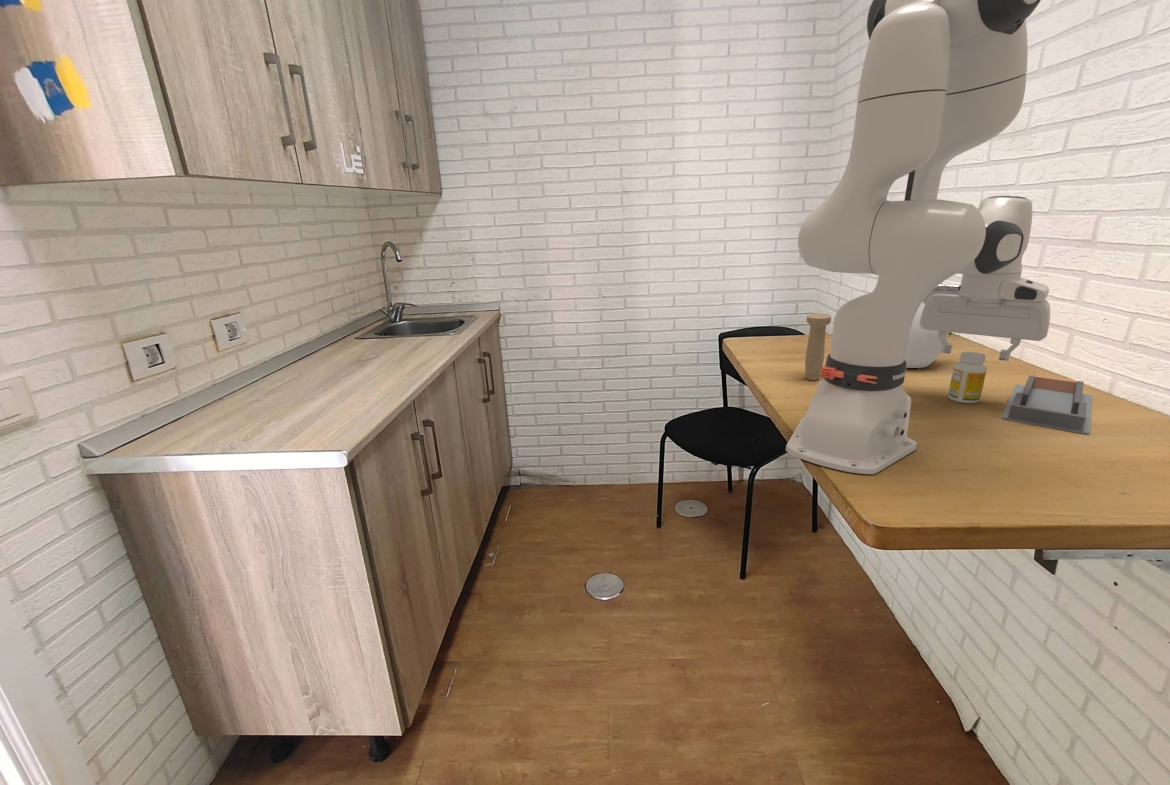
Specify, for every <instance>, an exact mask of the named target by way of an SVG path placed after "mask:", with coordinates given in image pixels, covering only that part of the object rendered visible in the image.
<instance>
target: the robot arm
mask: <svg viewBox="0 0 1170 785" xmlns="http://www.w3.org/2000/svg"><path fill="white" fill-rule="evenodd" d="M1041 1H1042V0H872V2H871V4H870V6H869V8H868V13H867V17H866V31H867V37H868V40H869V42H868V45H867V49H866V52H865V57H864V60H863V64H862V70H861V74H860V79H859V86H858V93H857V99H856V100H857V101H856V102H857V104H856V112H855V119H854V120H855V121H854V129H853V135H852V142H851V147H850V153H849V156H848V161H847V163H846V164H847V165H846V167H845V170H844V172H843V174H842V177H841V179H840V180H839V181H838V183H837V185H836V187H835V188H834V190H833V191H832V192H831V194H830V195H829V196H828V197H827V199H826V200H824V201H823V202H822V203H821V204H819V206H818V207H816V208H814V210H812V211H811V212H810V213H809V214H808V216H807V217H806V218H805V219H804V221H803V222H802V224H801V227H800V230H799V232H798V236H797V247H798V251H799V254H800V257H801V259H802V261H804V263H805V264H806V265H807V266H808V267H812V268H816V269H819V270H823V271H827V272H832V273H840V274H841V273H843V274H865V275H868V274H869V275H875V276H878V277H877V278H878V279H877V283H876V285H875V288H874V289H873V290H872V292H869V293H866V294H863V295H860V296H857V297H855V298H853V299H851V300H849V301H846V302H845V303H844V304H842V306H840V307H839V308H838V310H837V311H836V313H835V315H834V318H833V326H832V333H831V334H832V335H831V344H830V351H829V352H830V353H829V354H828V355H827V356H826V360H825V362H824V365H823V366H822V370H821V373H820V374H821V376H820V379H821V380H820V381H818V385H817V387H816V390H815V393H814V395H813V397H812V398H811V401H810V404H809V406H808V408H807V410H806V413H805V416H803V417H802V418H801V419H800V420H799V423H798V425H797V426H796V427H795V429H794V431H793V433H792V435H791V437H790V438H789V440H788V441H787V443H786V445H785V451H786V452H787V453H789V454H790V455H792V456H794V457H796V458H798V459H801V460H803V461H805V462H809V463H812V464H816V465H819V466H822V467H826V468H829V469H834V470H838V471H841V472H847V473H852V474H853V473H854V474H862V475H876V474H877V473H879V472H881V471H882V470H884V469H886V468H887V467H889V466H891V465H893V464H894V463H896V462H897V461H899V460H901V459H902V458H904V457H905V456H907V455H909V454H911V453H913V452H914V451H916V450H917V445H918V442H917V441H916V440H914V439H913V438H910V437H909V436H908V430H909V423H910V422H909V421H910V415H911V414H910V413H911V405H912V399H911V397H910V396H909V395H908V394H907V392H906V391H905V389H904V387H903V384H904V382H905V379H906V378H905V377H906V374H907V369H906V361H905V360H904V357H905V352H906V346H907V342H908V337H909V333H910V329H911V326H912V322H913V319H914V316H915V314H916V312H917V310H918V308H919V306H920V305H921V303H922V302H923V303H924V304H925V306H924V309H923V312H922V315H921V318H920V323H919V325H920V326H921V328H922V329H924V330H933V331H939V332H938V338H939V340H940V342H941V344H942V345H943V346H942V351H941V353H942V354H948V355H949V354H951V353H952V350H953V349H952V348H953V345H954V344H953V343H949V342H948V338H947V339H946V336H947V335H948V336H949V334H948V332H949V333H953V334H954V333H956V334H965V335H975V336H976V335H977V336H983V337H985V336H986V337H993V338H994V337H995V338H996V337H997V338H1006V339H1010V342H1009V344H1010V346H1009V347H1008V348H1007V349H1001V350H1000V353H999V357H998V360H999V361H1006V362H1009V360H1010V356H1011V353H1012V352H1013V351H1014V350H1015V349H1016V348H1018V347H1019V345H1020V344H1021V342H1022V340H1025V341H1032V342H1033V341H1036V342H1040V341H1042V340H1044V339H1045V338H1047V336H1048V332H1049V329H1050V328H1049V327H1050V324H1051V323H1050V322H1051V305H1050V303H1049V301H1048V300H1047V299H1046V298H1047V297H1048V295H1049V291H1050V288H1049V286H1048V285H1046V284H1044V283H1041V282H1038V281H1033V280H1031V279H1027V278H1025V277H1022V271H1023V265H1022V260H1023V256H1024V253H1025V252H1026V251H1027V248H1028V246H1029V241H1030V235H1031V232H1032V231H1031V230H1032V224H1033V222H1032V221H1033V202H1032V201H1031V200H1030V199H1028V198H1027V197H1023V196H1017V195H1014V196H1012V195H995V196H990V197H986V198H982V200H981V201H980V203H979V205H978V208H977V207H976V206H975V205H974V204H973V203H971V204H970V203H965V202H962V201H961V202H960V201H954V200H953V201H952V200H946V199H944V200H943V199H938V194H939V188H940V183H941V180H942V175H943V172H944V169H945V168H946V166H947V165H948V163H950V161H952V160H953V159H954V158H956V157H957V156H959V155H961V154H963V153H965V152H967V151H970V150H972V149H974V148H977V147H978V146H980V145H982V144H984V143H987V142H988V141H990V140H992V139H993V138H995V137H997V136H998V135H1000V134H1001V133H1002V132H1003V131H1004V130H1005V129H1007V128H1008V127H1009V126H1010V125H1011V124H1012V123H1013V121H1015V119H1016V117H1017V116H1018V115H1019V114H1020V113H1019V112H1020V110H1021V108H1022V105H1023V103H1024V100H1025V99H1024V98H1025V95H1026V94H1025V93H1026V86H1027V85H1026V84H1027V83H1026V82H1027V74H1028V72H1027V71H1028V51H1029V50H1028V29H1027V20H1026V19H1028V18H1029V17H1030V16H1031V15H1032V13H1033V12H1034V11H1035V9H1036V8H1037V7H1038V6H1039V4H1040V2H1041ZM906 175H907V177H908V178H907V182H906V189H905V194H904V200H891V201H890V200H887V199H888V195H889V192H890V189H891V187H892V186H893V184H894V183H895V182H896V181H897V180H898V179H900V178H902V177H904V176H906ZM959 274H961V281H960V284H943V283H944V281H947V280H948V279H950V278H951V277H953V276H955V275H959ZM941 283H942V284H941ZM941 353H940V354H941Z"/></svg>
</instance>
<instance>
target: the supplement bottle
mask: <svg viewBox="0 0 1170 785" xmlns="http://www.w3.org/2000/svg"><path fill="white" fill-rule="evenodd" d="M959 360H960V361H958V362H957V363H955V364H954V366H953V369H952V370H953V371H952V374H951V380H950V383H949V384H950V385H949V387H948V393H947V397H948V399H949V400H951V401H954V402H956V403H957V402H958V403H962V404H977V403H979V401H980V400H981V396H982V392H983V388H984V383H985V379H986V378H985V377H986V374H987V370H988V369H987V367H986V366H985V365H984V363H985V361H986V354H984V353H981V352H977V351H976V352H975V351H963V352H961V353H960V357H959Z"/></svg>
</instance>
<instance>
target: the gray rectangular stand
mask: <svg viewBox="0 0 1170 785" xmlns="http://www.w3.org/2000/svg"><path fill="white" fill-rule="evenodd" d="M1084 385H1085V383H1084V381H1079V380H1074V379H1073V380H1071V379H1064V378H1059V377H1058V378H1057V377H1050V376H1049V377H1048V376H1042V375H1036V374H1029V375H1028V378H1027V379H1026V383H1025V385H1023V384H1019V383H1018V384H1017V383H1016V384H1015V387H1014V389H1013V391H1012V393H1011V396H1010V398H1009V399H1008V402H1007V404H1006V406H1005V408H1004V410H1003V412H1002V414H1001V416H1000V419H1001V420H1006V421H1011V422H1015V423H1016V422H1017V423H1022V424H1028V425H1033V426H1039V427H1044V428H1049V429H1055V430H1060V431H1067V432H1071V433H1076V434H1082V435H1088V436H1089V435H1090V433H1091V432H1090V431H1091V418H1092V402H1093V401H1092V400H1093V395H1092V394H1086V393H1085V394H1084Z"/></svg>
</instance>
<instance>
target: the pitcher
mask: <svg viewBox="0 0 1170 785" xmlns="http://www.w3.org/2000/svg"><path fill="white" fill-rule="evenodd" d="M941 284H942V285H943V282H942V283H941ZM924 306H925V304H924V303H923V302H922V303H921V305H920V306H919V308H918V310H917V312H916V314H915V316H914V319H913V322H912V326H911V329H910V333H909V337H908V342H907V346H906V352H905V357H904V360H905V361H906V368H918V369H924V368H927V367H929V366H930V365H931V364H932V363H933V362H934V361H935V360H936V359H937V358H938V356H939V355H940V354H941V351H942V346H943V345H942V344H941V342H940V340H939V338H938V332H939V331H933V330H924V329H922V328H921V326H920V325H919V323H920V318H921V315H922V312H923V309H924ZM949 333H950V332H948V335H947V336H946V339H947V340H948V338H949Z"/></svg>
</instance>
